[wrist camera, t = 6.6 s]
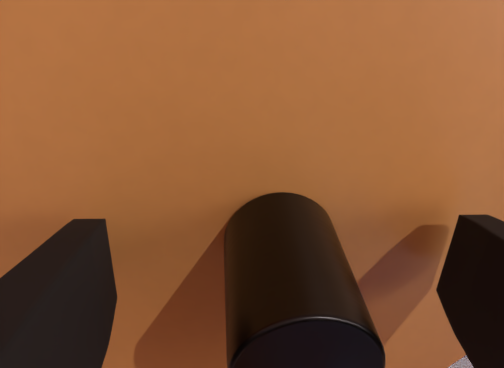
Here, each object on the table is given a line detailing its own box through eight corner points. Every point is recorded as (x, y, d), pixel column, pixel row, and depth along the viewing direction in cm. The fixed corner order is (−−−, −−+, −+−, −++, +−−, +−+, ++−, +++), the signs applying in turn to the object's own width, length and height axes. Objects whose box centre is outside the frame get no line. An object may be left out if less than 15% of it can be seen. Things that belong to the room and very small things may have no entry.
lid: (466, 384, 14) (564, 557, 10) (39, 402, 13) (-39, 602, 9) (668, -113, 8) (1149, -173, 4) (-136, -154, 7) (-654, -299, 3)
